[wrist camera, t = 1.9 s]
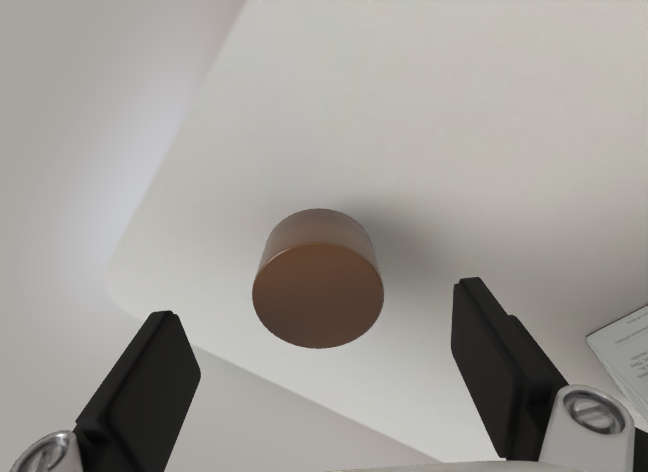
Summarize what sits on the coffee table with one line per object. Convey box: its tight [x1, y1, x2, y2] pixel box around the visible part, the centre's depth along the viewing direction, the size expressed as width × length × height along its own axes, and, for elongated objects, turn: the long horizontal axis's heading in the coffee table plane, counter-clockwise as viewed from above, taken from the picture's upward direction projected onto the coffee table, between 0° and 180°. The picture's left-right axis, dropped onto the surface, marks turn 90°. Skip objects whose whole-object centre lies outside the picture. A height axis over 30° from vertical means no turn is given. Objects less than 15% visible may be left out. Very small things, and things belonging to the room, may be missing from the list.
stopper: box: [252, 209, 384, 349], centre depth 15 cm, size 5×5×6 cm
